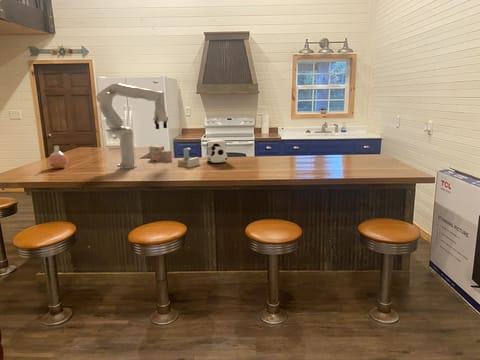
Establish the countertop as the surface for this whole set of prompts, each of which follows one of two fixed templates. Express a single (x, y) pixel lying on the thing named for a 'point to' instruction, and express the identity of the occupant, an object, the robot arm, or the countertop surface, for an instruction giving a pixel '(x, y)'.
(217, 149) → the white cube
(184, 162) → the block
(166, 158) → the stack of blocks
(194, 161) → the wall
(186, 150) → the dowel
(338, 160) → the countertop surface
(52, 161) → the vase
